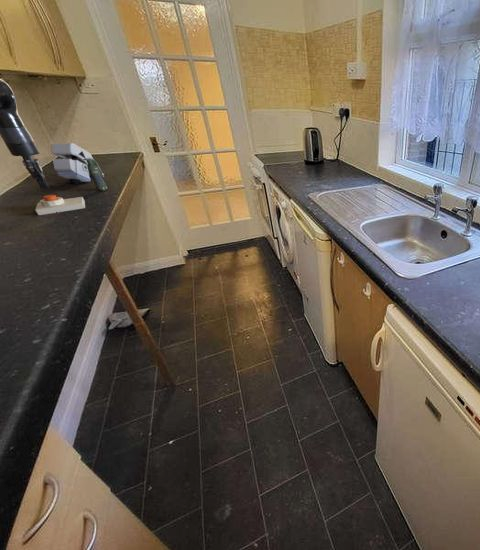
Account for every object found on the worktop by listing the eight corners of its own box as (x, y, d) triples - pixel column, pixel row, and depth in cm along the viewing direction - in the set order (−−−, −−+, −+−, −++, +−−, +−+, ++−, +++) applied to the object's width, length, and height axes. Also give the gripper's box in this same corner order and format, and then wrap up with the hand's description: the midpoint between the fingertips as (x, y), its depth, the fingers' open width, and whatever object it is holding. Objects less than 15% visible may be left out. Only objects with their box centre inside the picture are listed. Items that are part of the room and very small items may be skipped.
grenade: (102, 192, 142) (87, 159, 134) (95, 191, 142) (80, 158, 135) (111, 189, 145) (97, 157, 138) (104, 189, 146) (89, 156, 138)
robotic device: (105, 192, 166) (103, 157, 167) (73, 177, 145) (71, 138, 146) (84, 193, 164) (83, 158, 165) (49, 178, 143) (47, 138, 144)
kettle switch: (45, 202, 116) (42, 198, 116) (45, 200, 119) (43, 195, 118) (57, 200, 118) (55, 196, 118) (58, 198, 121) (55, 194, 120)
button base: (38, 215, 114) (32, 205, 112) (40, 207, 121) (35, 198, 119) (85, 208, 122) (80, 198, 120) (84, 201, 129) (80, 192, 127)
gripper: (7, 139, 109) (34, 186, 118) (1, 143, 101) (30, 194, 110) (35, 138, 113) (59, 183, 123) (31, 142, 105) (57, 190, 114)
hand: (45, 188), depth 116 cm, fingers closed
